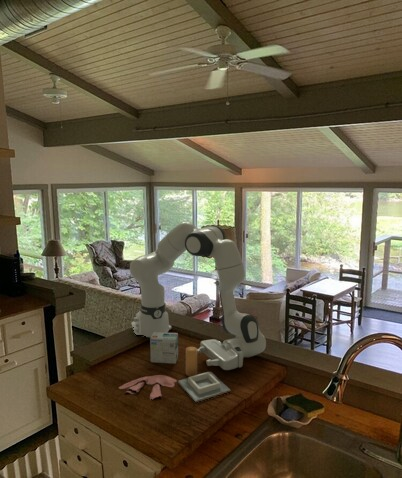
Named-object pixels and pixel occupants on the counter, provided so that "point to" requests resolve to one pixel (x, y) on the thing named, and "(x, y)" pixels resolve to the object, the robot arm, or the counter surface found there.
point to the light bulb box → (164, 347)
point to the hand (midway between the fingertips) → (200, 357)
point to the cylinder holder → (203, 386)
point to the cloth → (150, 380)
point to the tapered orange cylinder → (191, 361)
